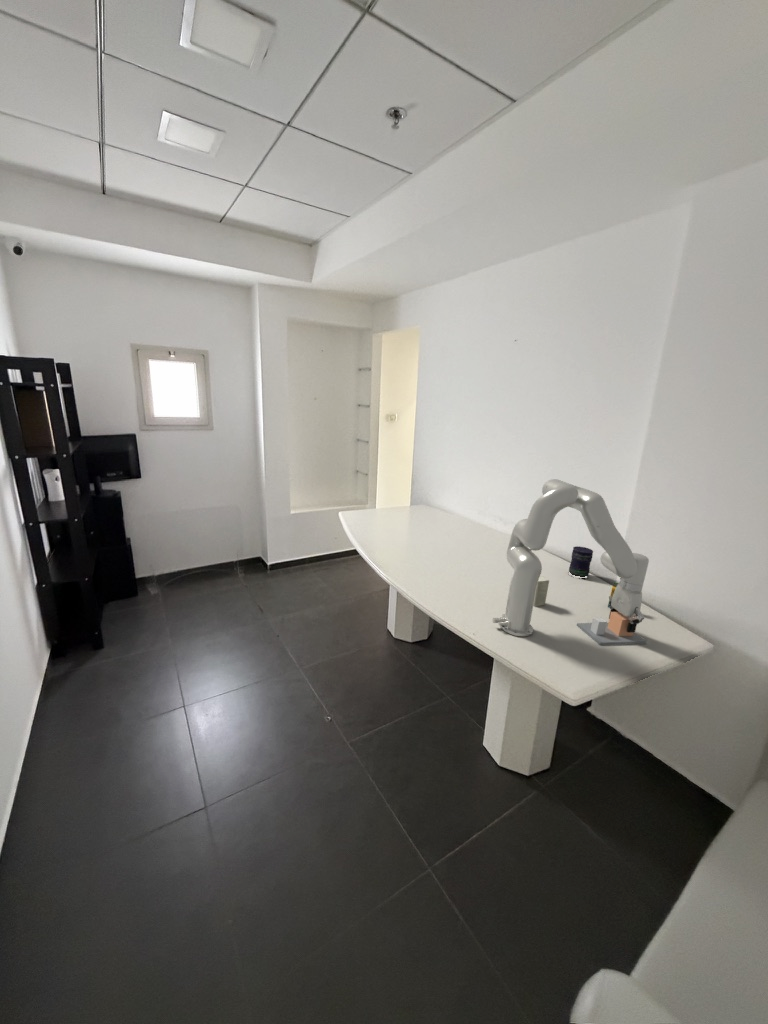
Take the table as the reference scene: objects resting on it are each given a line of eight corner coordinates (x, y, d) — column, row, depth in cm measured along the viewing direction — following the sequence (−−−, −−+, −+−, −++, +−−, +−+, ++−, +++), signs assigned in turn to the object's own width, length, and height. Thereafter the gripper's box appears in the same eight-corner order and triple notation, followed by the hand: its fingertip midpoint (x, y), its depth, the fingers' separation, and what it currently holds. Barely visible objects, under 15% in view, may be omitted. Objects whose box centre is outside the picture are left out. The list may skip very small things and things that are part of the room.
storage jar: (583, 580, 209) (588, 554, 206) (564, 574, 216) (569, 548, 213) (591, 576, 216) (596, 550, 212) (572, 570, 223) (577, 545, 219)
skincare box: (538, 600, 183) (543, 576, 180) (545, 605, 178) (550, 580, 176) (527, 601, 181) (531, 577, 178) (533, 606, 177) (538, 581, 174)
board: (599, 645, 149) (603, 629, 148) (576, 625, 163) (579, 610, 161) (646, 643, 153) (650, 628, 151) (620, 624, 166) (623, 610, 164)
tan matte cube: (618, 636, 155) (622, 619, 153) (607, 627, 160) (611, 611, 159) (632, 635, 156) (636, 619, 154) (621, 627, 162) (624, 611, 160)
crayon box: (607, 607, 181) (612, 583, 178) (608, 605, 183) (613, 581, 180) (625, 612, 177) (631, 588, 174) (626, 610, 179) (632, 586, 176)
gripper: (606, 576, 161) (598, 614, 165) (639, 595, 144) (629, 637, 148) (623, 576, 162) (614, 614, 166) (657, 595, 146) (646, 637, 150)
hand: (621, 625), depth 157 cm, fingers open, 9 cm apart
